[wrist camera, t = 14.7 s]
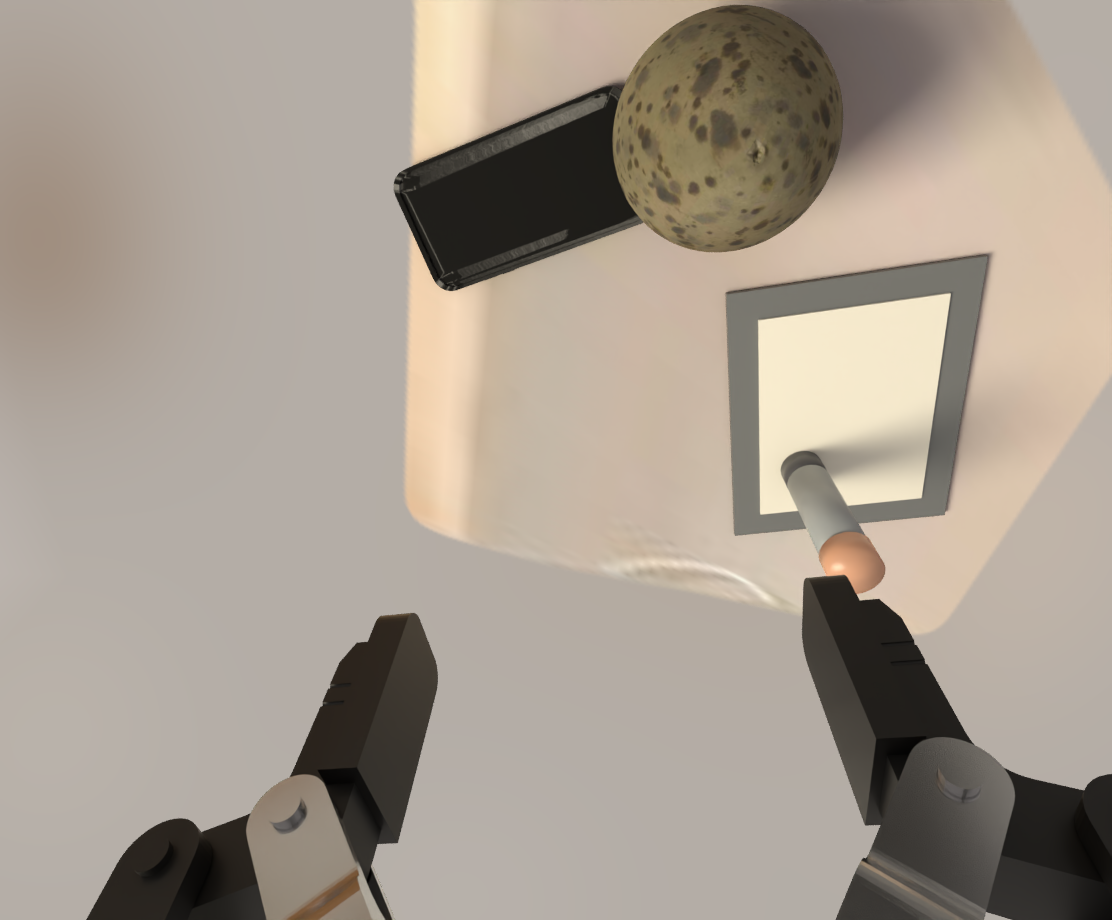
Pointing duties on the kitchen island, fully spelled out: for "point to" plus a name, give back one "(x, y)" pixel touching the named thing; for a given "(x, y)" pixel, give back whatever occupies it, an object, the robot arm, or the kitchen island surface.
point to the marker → (831, 522)
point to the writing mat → (851, 388)
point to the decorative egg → (727, 128)
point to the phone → (518, 193)
